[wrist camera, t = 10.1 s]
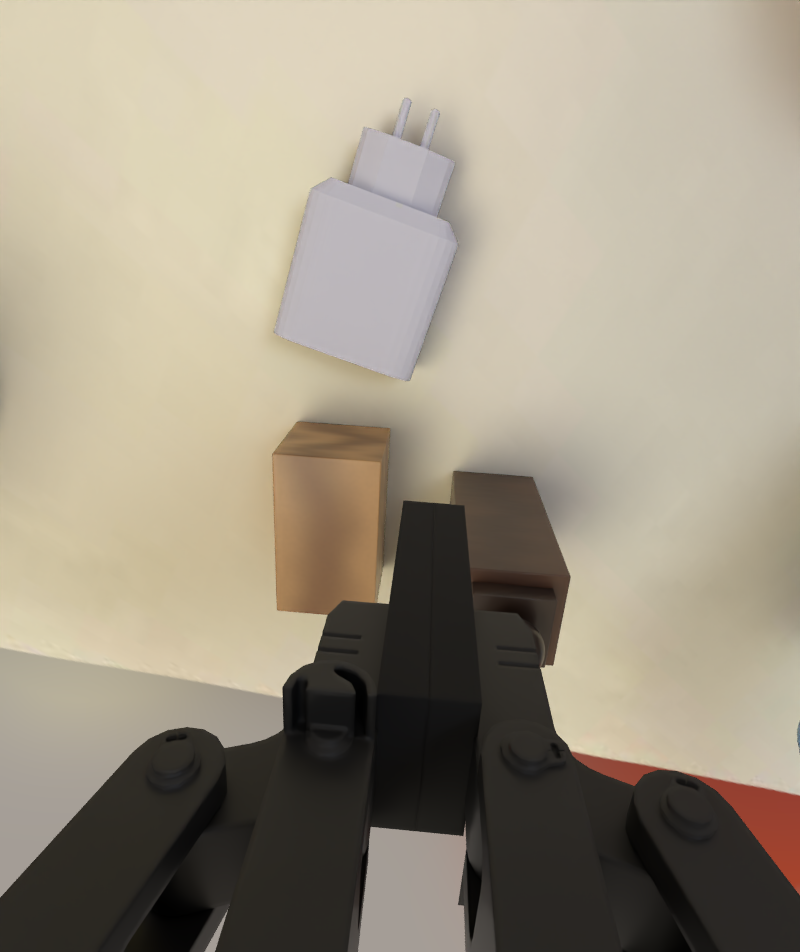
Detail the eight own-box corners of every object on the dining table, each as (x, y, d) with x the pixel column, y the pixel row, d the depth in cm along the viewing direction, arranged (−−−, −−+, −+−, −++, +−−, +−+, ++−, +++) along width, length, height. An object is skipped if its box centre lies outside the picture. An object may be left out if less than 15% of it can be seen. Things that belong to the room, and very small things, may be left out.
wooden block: (390, 428, 43) (381, 461, 37) (383, 567, 48) (374, 619, 41) (296, 421, 44) (271, 453, 37) (298, 560, 48) (276, 610, 42)
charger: (493, 140, 36) (412, 368, 42) (351, 84, 35) (288, 324, 41) (501, 126, 31) (408, 384, 37) (338, 62, 31) (269, 334, 37)
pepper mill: (502, 461, 47) (695, 560, 34) (494, 528, 49) (671, 644, 36) (351, 489, 40) (518, 627, 27) (349, 565, 42) (502, 726, 29)
